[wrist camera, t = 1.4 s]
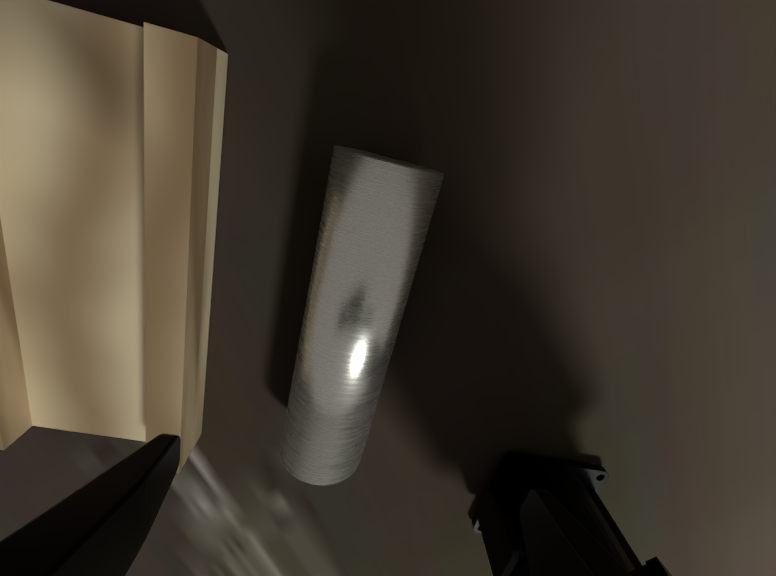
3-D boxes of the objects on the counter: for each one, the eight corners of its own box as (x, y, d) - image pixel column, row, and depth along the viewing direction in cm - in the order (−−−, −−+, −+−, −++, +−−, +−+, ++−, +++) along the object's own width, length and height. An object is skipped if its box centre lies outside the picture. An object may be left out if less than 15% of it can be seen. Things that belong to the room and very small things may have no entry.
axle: (358, 148, 15) (313, 142, 12) (450, 174, 15) (434, 176, 11) (305, 409, 20) (262, 462, 17) (371, 438, 20) (342, 499, 16)
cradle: (227, 54, 13) (197, 37, 11) (201, 433, 20) (178, 473, 17) (-58, -27, 12) (-160, -65, 10) (16, 406, 19) (-34, 445, 16)
